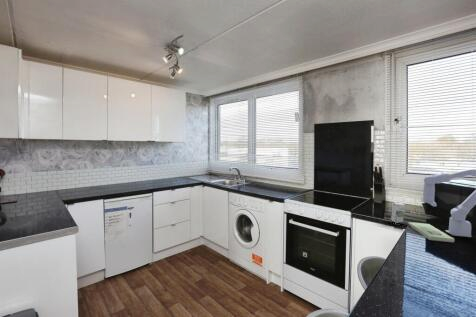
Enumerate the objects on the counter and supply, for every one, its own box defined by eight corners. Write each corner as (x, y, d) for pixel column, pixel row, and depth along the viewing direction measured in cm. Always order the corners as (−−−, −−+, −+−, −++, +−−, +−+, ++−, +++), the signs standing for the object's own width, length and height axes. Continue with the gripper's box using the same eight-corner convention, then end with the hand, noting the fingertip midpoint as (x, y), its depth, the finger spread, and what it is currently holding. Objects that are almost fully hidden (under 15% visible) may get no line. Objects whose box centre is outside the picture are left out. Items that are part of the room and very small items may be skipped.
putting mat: (428, 226, 153) (428, 223, 153) (454, 242, 128) (454, 238, 128) (408, 224, 157) (408, 222, 156) (429, 239, 131) (429, 236, 131)
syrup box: (398, 222, 163) (399, 202, 162) (404, 224, 157) (405, 204, 156) (390, 221, 163) (391, 201, 162) (395, 224, 157) (396, 203, 157)
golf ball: (437, 238, 137) (436, 232, 139) (442, 236, 134) (441, 229, 136) (430, 236, 138) (429, 230, 140) (434, 234, 135) (433, 227, 137)
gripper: (416, 191, 157) (415, 210, 158) (427, 196, 143) (426, 217, 144) (428, 192, 155) (427, 211, 156) (441, 196, 141) (439, 218, 142)
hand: (427, 214), depth 150 cm, fingers closed
